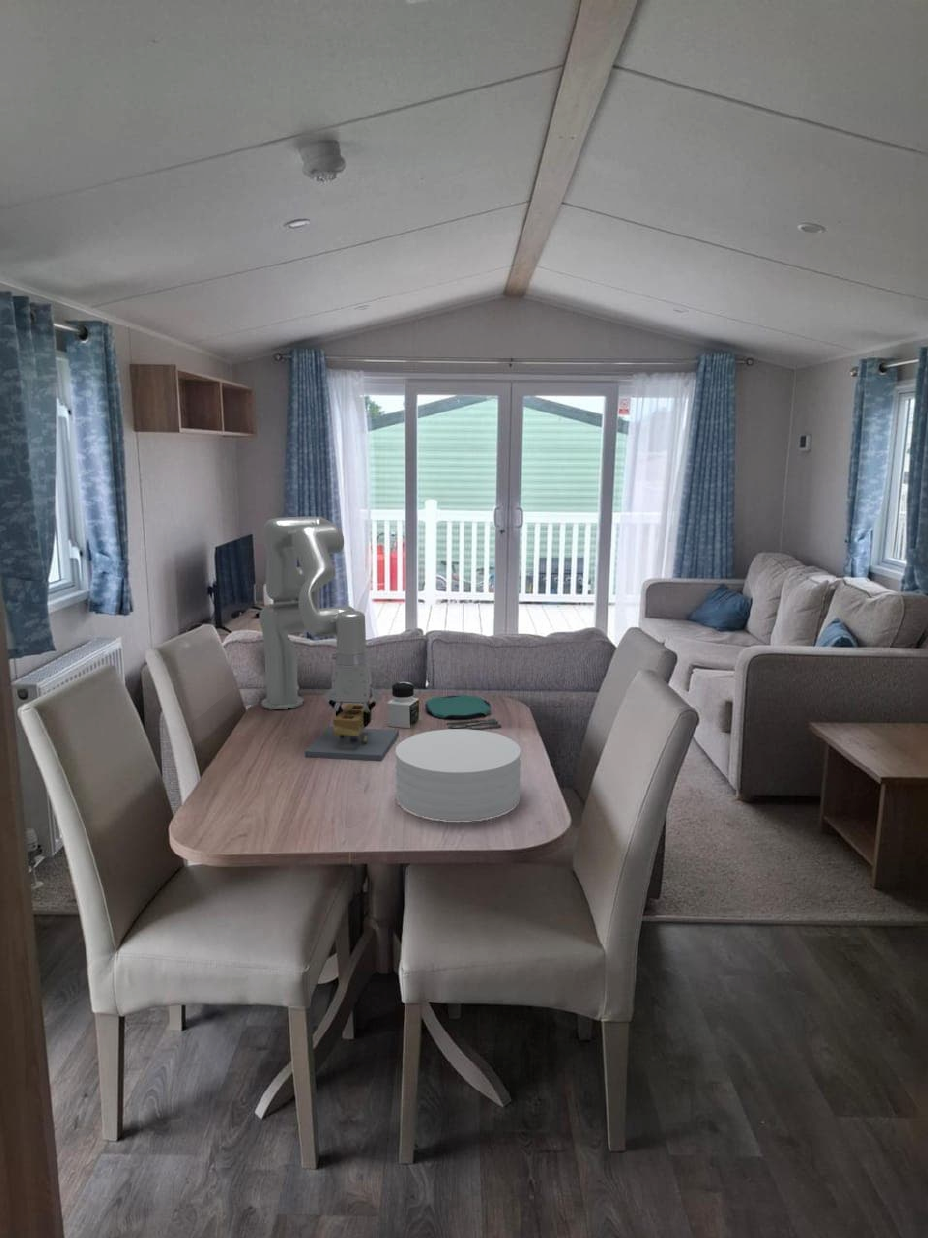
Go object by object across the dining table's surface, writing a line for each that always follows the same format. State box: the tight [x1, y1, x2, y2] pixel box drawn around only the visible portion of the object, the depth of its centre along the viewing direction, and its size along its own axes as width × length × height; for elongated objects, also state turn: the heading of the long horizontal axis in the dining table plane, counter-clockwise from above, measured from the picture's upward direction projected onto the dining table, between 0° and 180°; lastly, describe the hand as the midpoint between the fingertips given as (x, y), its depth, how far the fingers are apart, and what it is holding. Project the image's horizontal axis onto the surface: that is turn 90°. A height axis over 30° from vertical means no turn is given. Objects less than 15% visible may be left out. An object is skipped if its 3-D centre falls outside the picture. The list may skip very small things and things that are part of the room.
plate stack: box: [395, 728, 522, 821], centre depth 190 cm, size 28×28×12 cm
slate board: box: [304, 726, 400, 762], centre depth 224 cm, size 20×20×2 cm
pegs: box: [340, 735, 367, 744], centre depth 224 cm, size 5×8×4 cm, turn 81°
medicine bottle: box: [386, 681, 420, 729], centre depth 241 cm, size 7×7×12 cm
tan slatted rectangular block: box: [332, 703, 373, 736], centre depth 223 cm, size 14×6×4 cm, turn 172°
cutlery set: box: [424, 694, 502, 731], centre depth 251 cm, size 20×30×2 cm, turn 14°
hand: (353, 724), depth 223 cm, fingers closed on tan slatted rectangular block, 6 cm apart
